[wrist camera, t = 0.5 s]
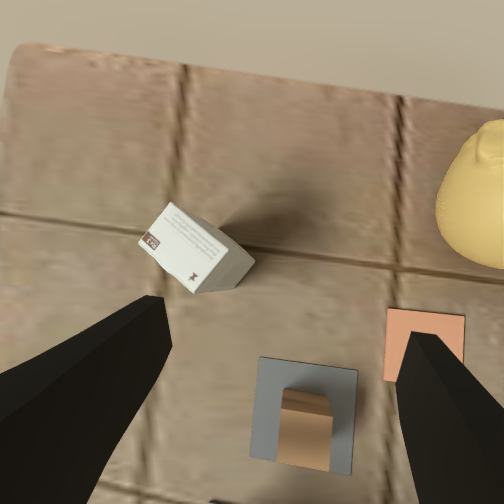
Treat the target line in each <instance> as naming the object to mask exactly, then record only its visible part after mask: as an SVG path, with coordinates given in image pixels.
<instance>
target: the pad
mask: <svg viewBox="0 0 504 504" xmlns="http://www.w3.org/2000/svg"><path fill="white" fill-rule="evenodd" d="M411 331H415V332H422V333H430V334H437V335H438V337H439V338H440V339H441V340H442V341H443V342H444V343H445V344H446V345H447V347H448V348H449V349H450V350H451V351H452V352H453V353H454V354H455V356H456V357H457V358H458V359H459V360H460V361H461V362H462V364H463V340H464V316H456V315H447V314H438V313H428V312H419V311H409V310H400V309H391V308H387V324H386V340H385V357H384V374H383V380H386V381H393V382H396V380H397V377H398V374H399V370H400V367H401V363H402V360H403V357H404V353H405V350H406V347H407V343H408V340H409V337H410V333H411Z"/></svg>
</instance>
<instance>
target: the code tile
mask: <svg viewBox="0 0 504 504" xmlns="http://www.w3.org/2000/svg"><path fill="white" fill-rule="evenodd" d="M357 372H358V371H357V370H350V369H343V368H336V367H329V366H321V365H314V364H307V363H300V362H292V361H285V360H278V359H270V358H263V357H259V362H258V372H257V383H256V394H255V404H254V415H253V425H252V436H251V447H250V457H253V458H258V459H264V460H269V461H274V462H276V459H277V447H278V436H279V424H280V413H281V403H282V395H283V389H288V390H295V391H301V392H308V393H314V394H321V395H327V398H328V401H329V405H330V408H331V412H332V416H333V422H332V436H331V450H330V463H329V472H333V473H338V474H343V475H349V476H351V461H352V446H353V431H354V416H355V402H356V387H357ZM279 463H280V462H279ZM295 466H296V465H295ZM311 469H312V468H311ZM327 472H328V471H327Z"/></svg>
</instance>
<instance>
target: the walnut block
mask: <svg viewBox="0 0 504 504" xmlns="http://www.w3.org/2000/svg"><path fill="white" fill-rule="evenodd" d="M332 422H333V416H332V412H331V408H330V405H329V401H328V398H327V395H321V394H314V393H308V392H301V391H295V390H288V389H283V395H282V403H281V413H280V424H279V436H278V447H277V459H276V462H280V463H285V464H290V465H296V466H301V467H306V468H312V469H317V470H322V471H328V472H329V463H330V450H331V436H332Z"/></svg>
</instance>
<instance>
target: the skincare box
mask: <svg viewBox="0 0 504 504" xmlns="http://www.w3.org/2000/svg"><path fill="white" fill-rule="evenodd" d="M139 245H140V246H142V247H143V248H144V249H145V250H146V251H147V252H148V253H149V254H150V255H151V256H153V257H154V258H155V259H156V260H157V261H158V263H159V264H160V265H161V266H162V267H163V268H164V269H165V270H166V271H167V272H169V273H170V274H172V275H173V276H174V277H175V278H177V279H178V280H179V281H180V282H181V283H182V284H183V285H184V286H186V287H187V288H188V289H189V290H190V291H191V292H192V293H194V294H196V293H205V292H213V291H222V290H230V289H233V288H234V287H235V286H236V285H237V284H238V282H239V281H240V280H241V279H242V278H243V277H244V275H245V274H246V273H247V272H248V270H249V269H250V268H251V267H252V266H253V264H254V263H255V260H254V259H253V257H251V256H250V255H249V254H248V253H247V252H246V251H245V250H244V249H243V248H242V247H241V246H239V245H238V244H237V243H236V242H235V241H233V240H232V239H231V238H230V237H229V236H227V235H226V234H225V233H223V232H222V231H221V230H219V229H218V228H217V227H215V226H213V225H211V224H210V223H208V222H206V221H205V220H203V219H201V218H199V217H198V216H196V215H194V214H193V213H191V212H189V211H187V210H185V209H183V208H181V207H179V206H178V205H176V204H174V203H173V202H170V203H169V205H168V206H167V207H166V208H165V210H164V211H163V212H162V214H161V215H160V216H159V217H158V219H157V220H156V221H155V222H154V223H153V225H152V226H151V227H150V228H149V230H148V231H147V232H146V233H145V235H144V236H143V237H142V238H141V239H140V241H139Z"/></svg>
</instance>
